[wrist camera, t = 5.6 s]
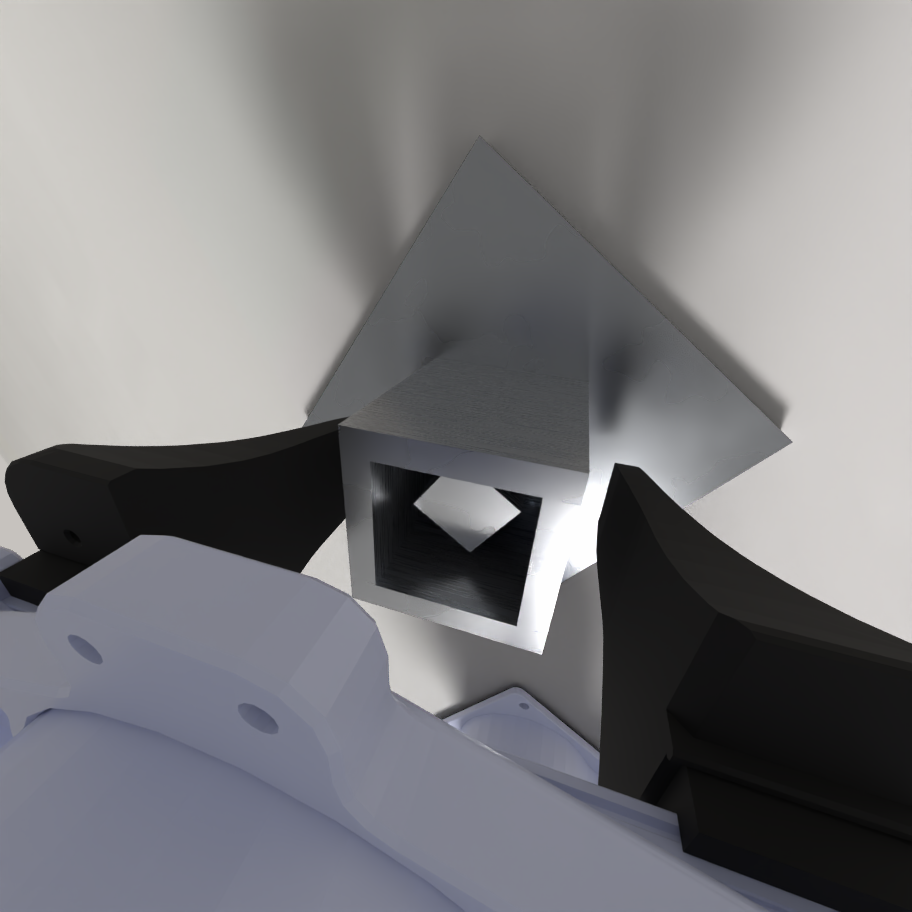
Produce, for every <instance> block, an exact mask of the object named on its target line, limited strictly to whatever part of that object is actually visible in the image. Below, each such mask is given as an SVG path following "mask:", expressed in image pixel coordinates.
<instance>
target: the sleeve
mask: <svg viewBox="0 0 912 912" xmlns="http://www.w3.org/2000/svg"><path fill="white" fill-rule="evenodd" d="M338 433H339V445H340V457H341V468H342V480H343V492H344V504H345V516H346V528H347V539H348V551H349V563H350V575H351V587H352V598H355V599H359V600H362V601H365V602H369V603H372V604H375V605H379V606H382V607H385V608H389V609H392V610H395V611H398V612H402V613H405V614H408V615H412V616H415V617H418V618H422V619H425V620H428V621H431V622H435V623H438V624H441V625H445V626H448V627H451V628H455V629H458V630H461V631H465V632H468V633H471V634H474V635H478V636H481V637H484V638H488V639H491V640H494V641H498V642H501V643H504V644H508V645H511V646H514V647H517V648H521V649H524V650H527V651H531V652H534V653H537V654H541V655H542V653H543V649H544V645H545V641H546V637H547V633H548V630H549V626H550V622H551V618H552V614H553V611H554V607H555V603H556V599H557V595H558V592H559V588H560V584H561V580H562V576H563V573H564V569H565V565H566V561H567V557H568V554H569V550H570V546H571V542H572V538H573V535H574V531H575V527H576V523H577V519H578V516H579V512H580V508H581V504H582V500H583V497H584V493H585V489H586V485H587V481H588V478H589V474H590V469H589V381H587V380H580V379H573V378H566V377H559V376H552V375H545V374H538V373H531V372H524V371H517V370H510V369H503V368H496V367H489V366H482V365H475V364H468V363H461V362H454V361H447V360H440V359H434V360H432V361H431V362H429V363H428V364H427V365H425V366H424V367H422V368H421V369H419V370H418V371H416V372H415V373H413V374H412V375H410V376H409V377H407V378H406V379H404V380H403V381H401V382H400V383H399V384H397V385H396V386H394V387H393V388H391V389H390V390H388V391H387V392H385V393H384V394H382V395H381V396H379V397H378V398H376V399H375V400H374V401H372V402H371V403H369V404H368V405H366V406H365V407H363V408H362V409H360V410H359V411H357V412H356V413H354V414H353V415H351V416H350V417H348V418H347V419H346V420H344V421H343V422H341V423H340V424H338ZM433 475H437V476H442V477H447V478H451V479H456V480H461V481H465V482H470V483H475V484H479V485H484V486H489V487H493V488H498V489H503V490H508V491H512V492H517V493H522V494H526V495H525V498H524V502H523V506H522V510H521V512H520V513H519V514H518V515H517V516H515V517H514V518H513V519H511V520H510V521H509V522H508V523H506V524H505V525H504V526H503V527H501V528H500V529H499V530H498V531H496V532H495V533H494V534H492V535H491V536H490V537H489V538H487V539H486V540H485V541H484V542H482V543H481V544H480V545H479V546H477V547H476V548H475V549H474V550H472V551H471V552H469V551H468V550H467V549H465V548H464V547H463V546H462V545H461V544H460V543H458V542H457V541H456V540H455V539H454V538H453V537H451V536H450V535H449V534H448V533H447V532H446V531H444V530H443V529H442V528H441V527H440V526H439V525H437V524H436V523H435V522H434V521H433V520H432V519H430V518H429V517H428V516H427V515H426V514H425V513H423V512H422V511H421V510H420V509H419V508H417V507H416V506H415V505H414V502H415V501H416V500H417V498H418V497H419V495H420V494H421V492H422V491H423V490H424V488H425V487H426V485H427V484H428V482H429V481H430V480H431V478H432V477H433Z"/></svg>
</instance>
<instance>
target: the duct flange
mask: <svg viewBox="0 0 912 912" xmlns="http://www.w3.org/2000/svg"><path fill="white" fill-rule="evenodd" d="M434 359H440V360H447V361H454V362H461V363H468V364H475V365H482V366H489V367H496V368H503V369H510V370H517V371H524V372H531V373H538V374H545V375H552V376H559V377H566V378H573V379H580V380H587V381H589V469H590V474H589V478H588V481H587V485H586V489H585V493H584V497H583V500H582V504H581V508H580V512H579V516H578V519H577V523H576V527H575V531H574V535H573V538H572V542H571V546H570V550H569V554H568V557H567V561H566V565H565V569H564V573H563V576H562V580H561V583H562V582H563V581H565V580H567V579H568V578H570V577H572V576H573V575H575V574H577V573H578V572H580V571H581V570H583V569H585V568H586V567H588V566H590V565H591V564H593V563H595V562H596V561H597V558H596V541H597V524H598V519H599V516H600V513H601V509H602V506H603V502H604V499H605V495H606V492H607V488H608V485H609V481H610V478H611V474H612V471H613V467H614V464H615V463H620V464H626V465H631V466H637V467H640V468H641V469H642V470H643V471H644V472H645V473H646V474H647V475H648V476H649V477H650V478H651V479H652V480H653V481H654V482H655V483H656V484H657V485H658V486H659V487H660V488H661V489H662V490H663V491H664V492H665V493H666V494H667V495H668V496H669V497H670V498H672V499H673V500H674V501H675V502H676V503H677V504H678V505H679V506H680V507H681V508H682V509H684V508H685V507H687V506H689V505H690V504H692V503H693V502H695V501H697V500H698V499H700V498H702V497H703V496H705V495H707V494H708V493H710V492H712V491H713V490H715V489H717V488H718V487H720V486H721V485H723V484H725V483H726V482H728V481H730V480H731V479H733V478H735V477H736V476H738V475H740V474H741V473H743V472H745V471H746V470H748V469H749V468H751V467H753V466H754V465H756V464H758V463H759V462H761V461H763V460H764V459H766V458H768V457H769V456H771V455H773V454H774V453H776V452H777V451H779V450H781V449H782V448H784V447H786V446H787V445H789V444H791V443H792V441H791V440H790V439H789V438H788V437H787V436H786V435H785V434H784V433H783V432H782V431H781V430H780V429H779V428H778V427H777V426H776V425H775V424H774V423H773V422H772V421H771V420H770V419H769V418H768V417H767V416H766V415H765V414H764V413H763V412H762V411H761V410H760V409H758V408H757V407H756V406H755V405H754V404H753V403H752V402H751V401H750V400H749V399H748V398H747V397H746V396H745V395H744V394H743V393H742V392H741V391H740V390H739V389H738V388H737V387H736V386H735V385H734V384H733V383H732V382H731V381H730V380H729V379H728V378H727V377H726V376H725V375H724V374H723V373H722V372H721V371H720V370H719V369H718V368H717V367H716V366H715V365H714V364H713V363H711V362H710V361H709V360H708V359H707V358H706V357H705V356H704V355H703V354H702V353H701V352H700V351H699V350H698V349H697V348H696V347H695V346H694V345H693V344H692V343H691V342H690V341H689V340H688V339H687V338H686V337H685V336H684V335H683V334H682V333H681V332H680V331H679V330H678V329H677V328H676V327H675V326H674V325H673V324H672V323H671V322H670V321H669V320H668V319H667V318H666V317H664V316H663V315H662V314H661V313H660V312H659V311H658V310H657V309H656V308H655V307H654V306H653V305H652V304H651V303H650V302H649V301H648V300H647V299H646V298H645V297H644V296H643V295H642V294H641V293H640V292H639V291H638V290H637V289H636V288H635V287H634V286H633V285H632V284H631V283H630V282H629V281H628V280H627V279H626V278H625V277H624V276H623V275H622V274H621V273H620V272H618V271H617V270H616V269H615V268H614V267H613V266H612V265H611V264H610V263H609V262H608V261H607V260H606V259H605V258H604V257H603V256H602V255H601V254H600V253H599V252H598V251H597V250H596V249H595V248H594V247H593V246H592V245H591V244H590V243H589V242H588V241H587V240H586V239H585V238H584V237H583V236H582V235H581V234H580V233H579V232H578V231H577V230H576V229H575V228H574V227H573V226H571V225H570V224H569V223H568V222H567V221H566V220H565V219H564V218H563V217H562V216H561V215H560V214H559V213H558V212H557V211H556V210H555V209H554V208H553V207H552V206H551V205H550V204H549V203H548V202H547V201H546V200H545V199H544V198H543V197H542V196H541V195H540V194H539V193H538V192H537V191H536V190H535V189H534V188H533V187H532V186H531V185H530V184H529V183H528V182H527V181H526V180H524V179H523V178H522V177H521V176H520V175H519V174H518V173H517V172H516V171H515V170H514V169H513V168H512V167H511V166H510V165H509V164H508V163H507V162H506V161H505V160H504V159H503V158H502V157H501V156H500V155H499V154H498V153H497V152H496V151H495V150H494V149H493V148H492V147H491V146H490V145H489V144H488V143H487V142H486V141H485V140H484V139H483V138H482V137H481V136H479V137H478V139H477V141H476V142H475V144H474V146H473V147H472V149H471V150H470V152H469V154H468V155H467V157H466V159H465V160H464V162H463V164H462V165H461V167H460V169H459V170H458V172H457V174H456V175H455V177H454V178H453V180H452V182H451V183H450V185H449V187H448V188H447V190H446V192H445V193H444V195H443V197H442V198H441V200H440V201H439V203H438V205H437V206H436V208H435V210H434V211H433V213H432V215H431V216H430V218H429V220H428V221H427V223H426V225H425V226H424V228H423V229H422V231H421V233H420V234H419V236H418V238H417V239H416V241H415V243H414V244H413V246H412V248H411V249H410V251H409V252H408V254H407V256H406V257H405V259H404V261H403V262H402V264H401V266H400V267H399V269H398V271H397V272H396V274H395V276H394V277H393V279H392V280H391V282H390V284H389V285H388V287H387V289H386V290H385V292H384V294H383V295H382V297H381V299H380V300H379V302H378V303H377V305H376V307H375V308H374V310H373V312H372V313H371V315H370V317H369V318H368V320H367V322H366V323H365V325H364V326H363V328H362V330H361V331H360V333H359V335H358V336H357V338H356V340H355V341H354V343H353V345H352V346H351V348H350V350H349V351H348V353H347V354H346V356H345V358H344V359H343V361H342V363H341V364H340V366H339V368H338V369H337V371H336V373H335V374H334V376H333V377H332V379H331V381H330V382H329V384H328V386H327V387H326V389H325V391H324V392H323V394H322V396H321V397H320V399H319V401H318V402H317V404H316V405H315V407H314V409H313V410H312V412H311V414H310V415H309V417H308V419H307V420H306V422H305V424H304V425H303V427H306V426H310V425H314V424H318V423H322V422H326V421H330V420H335V419H339V418H344V417H350V416H351V415H353V414H354V413H356V412H357V411H359V410H360V409H362V408H363V407H365V406H366V405H368V404H369V403H371V402H372V401H374V400H375V399H376V398H378V397H379V396H381V395H382V394H384V393H385V392H387V391H388V390H390V389H391V388H393V387H394V386H396V385H397V384H399V383H400V382H401V381H403V380H404V379H406V378H407V377H409V376H410V375H412V374H413V373H415V372H416V371H418V370H419V369H421V368H422V367H424V366H425V365H427V364H428V363H429V362H431V361H432V360H434ZM525 495H526V494H522V493H517V492H512V491H508V490H503V489H498V488H493V487H489V486H484V485H479V484H475V483H470V482H465V481H461V480H456V479H451V478H447V477H442V476H437V475H433V477H432V478H431V480H430V481H429V482H428V484H427V485H426V487H425V488H424V490H423V491H422V492H421V494H420V495H419V497H418V498H417V500H416V501H415V502H414V505H415V506H416V507H417V508H419V509H420V510H421V511H422V512H423V513H425V514H426V515H427V516H428V517H429V518H430V519H432V520H433V521H434V522H435V523H436V524H437V525H439V526H440V527H441V528H442V529H443V530H444V531H446V532H447V533H448V534H449V535H450V536H451V537H453V538H454V539H455V540H456V541H457V542H458V543H460V544H461V545H462V546H463V547H464V548H465V549H467V550H468V551H469V552H471V551H472V550H474V549H475V548H476V547H477V546H479V545H480V544H481V543H482V542H484V541H485V540H486V539H487V538H489V537H490V536H491V535H492V534H494V533H495V532H496V531H498V530H499V529H500V528H501V527H503V526H504V525H505V524H506V523H508V522H509V521H510V520H511V519H513V518H514V517H515V516H517V515H518V514H519V513H520V512H521V510H522V506H523V502H524V498H525Z"/></svg>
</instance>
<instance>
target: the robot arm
mask: <svg viewBox="0 0 912 912" xmlns="http://www.w3.org/2000/svg"><path fill="white" fill-rule="evenodd" d="M347 418H348V417H344V418H339V419H335V420H330V421H326V422H322V423H318V424H314V425H310V426H306V427H302V428H298V429H293V430H289V431H284V432H280V433H275V434H271V435H266V436H261V437H255V438H249V439H242V440H235V441H228V442H218V443H206V444H194V445H180V446H108V445H84V444H62V445H56V446H53V447H50V448H47V449H44V450H42V451H39V452H36V453H34V454H31V455H28V456H26V457H23V458H20V459H17V460H15V461H12V462H11V463H10V465H9V466H8V468H7V470H6V474H5V484H6V488H7V492H8V494H9V497H10V499H11V501H12V503H13V505H14V507H15V509H16V510H17V512H18V514H19V516H20V517H21V519H22V521H23V523H24V524H25V526H26V528H27V530H28V531H29V533H30V535H31V537H32V538H33V540H34V542H35V544H36V545H37V547H38V549H40V551H38V552H36V553H34V554H32V555H30V556H29V557H27V558H25V559H22V558H21V557H20V556H19V555H18V554H17V553H15V552H14V551H12V550H10V549H7V548H4V547H1V546H0V912H912V644H911V643H909V642H907V641H904V640H902V639H900V638H898V637H896V636H893V635H891V634H889V633H887V632H884V631H882V630H880V629H878V628H875V627H873V626H871V625H869V624H866V623H864V622H862V621H860V620H857V619H855V618H853V617H851V616H849V615H847V614H845V613H843V612H841V611H839V610H837V609H835V608H833V607H831V606H829V605H827V604H825V603H824V602H822V601H820V600H818V599H816V598H814V597H812V596H810V595H808V594H806V593H804V592H803V591H801V590H799V589H797V588H795V587H793V586H792V585H790V584H788V583H786V582H784V581H783V580H781V579H779V578H778V577H776V576H774V575H773V574H771V573H769V572H768V571H766V570H765V569H763V568H761V567H760V566H758V565H756V564H755V563H753V562H752V561H750V560H748V559H747V558H745V557H744V556H742V555H741V554H739V553H738V552H737V551H735V550H734V549H732V548H731V547H730V546H728V545H727V544H725V543H724V542H723V541H721V540H720V539H718V538H717V537H716V536H714V535H713V534H712V533H710V532H709V531H708V530H707V529H705V528H704V527H703V526H702V525H701V524H699V523H698V522H697V521H696V520H695V519H694V518H692V517H691V516H690V515H689V514H688V513H687V512H685V511H684V510H683V509H682V508H681V507H680V506H679V505H678V504H677V503H676V502H675V501H674V500H673V499H672V498H670V497H669V496H668V495H667V494H666V493H665V492H664V491H663V490H662V489H661V488H660V487H659V486H658V485H657V484H656V483H655V482H654V481H653V480H652V479H651V478H650V477H649V476H648V475H647V474H646V473H645V472H644V471H643V470H642V469H641V468H640V467H637V466H631V465H626V464H620V463H615V464H614V467H613V471H612V474H611V478H610V481H609V485H608V488H607V492H606V495H605V499H604V502H603V506H602V509H601V513H600V516H599V519H598V524H597V541H596V558H597V569H598V580H599V590H600V600H601V610H602V620H603V686H602V717H601V738H600V753H599V752H598V751H597V750H596V749H594V748H593V747H592V746H591V745H590V744H588V743H587V742H586V741H585V740H584V739H582V738H581V737H580V736H579V735H578V734H576V733H575V732H574V731H573V730H571V729H570V728H569V727H568V726H567V725H565V724H564V723H563V722H562V721H561V720H559V719H558V718H557V717H556V716H555V715H553V714H552V713H551V712H550V711H548V710H547V709H546V708H545V707H544V706H542V705H541V704H540V703H539V702H538V701H536V700H535V699H534V698H533V697H532V696H530V695H529V694H528V693H527V692H525V691H524V690H523V689H521V688H518V687H513V688H510V689H508V690H506V691H504V692H502V693H499V694H497V695H495V696H493V697H491V698H488V699H486V700H484V701H482V702H480V703H478V704H475V705H473V706H471V707H469V708H467V709H465V710H462V711H460V712H458V713H456V714H454V715H452V716H449V717H447V718H445V719H443V720H441V719H440V718H438V717H436V716H434V715H433V714H431V713H429V712H428V711H426V710H424V709H422V708H421V707H419V706H417V705H416V704H414V703H412V702H410V701H409V700H407V699H405V698H404V697H402V696H400V695H398V694H397V693H395V692H393V691H391V690H390V685H389V663H388V654H387V651H386V649H385V646H384V643H383V641H382V638H381V635H380V632H379V630H378V627H377V625H376V622H375V620H374V619H373V618H372V617H371V616H370V615H369V614H368V613H367V612H366V611H365V610H364V609H363V608H362V607H361V606H360V605H359V604H358V603H357V602H356V601H355V600H354V599H353V598H352V597H351V596H350V595H349V594H347V593H345V592H343V591H341V590H339V589H337V588H335V587H333V586H331V585H329V584H327V583H325V582H323V581H321V580H319V579H317V578H314V577H311V576H307V575H304V574H300V573H301V572H302V570H303V569H304V567H305V566H306V564H307V563H308V562H309V560H310V559H311V557H312V556H313V555H314V554H315V552H316V551H317V550H318V549H319V547H320V546H321V545H322V544H323V543H324V542H325V541H326V539H327V538H328V537H329V536H330V535H331V534H332V533H333V532H334V530H335V529H336V528H337V527H338V526H339V525H340V524H341V523H342V522H343V520H344V519H345V518H346V516H345V504H344V492H343V480H342V468H341V457H340V445H339V433H338V424H340V423H341V422H343V421H344V420H346V419H347Z"/></svg>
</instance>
